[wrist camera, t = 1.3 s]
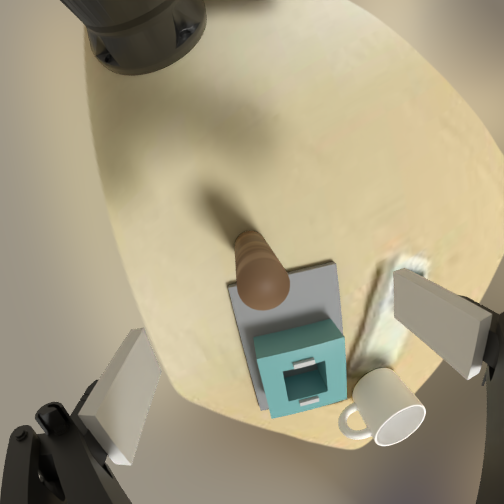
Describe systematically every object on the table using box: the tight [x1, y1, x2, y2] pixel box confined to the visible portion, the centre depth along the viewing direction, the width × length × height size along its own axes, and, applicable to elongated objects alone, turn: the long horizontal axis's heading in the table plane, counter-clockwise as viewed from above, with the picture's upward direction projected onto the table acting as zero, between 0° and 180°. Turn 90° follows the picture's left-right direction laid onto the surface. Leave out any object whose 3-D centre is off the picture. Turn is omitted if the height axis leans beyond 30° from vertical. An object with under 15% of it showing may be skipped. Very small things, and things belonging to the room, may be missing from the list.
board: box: [228, 262, 343, 411], centre depth 35 cm, size 20×13×1 cm, turn 12°
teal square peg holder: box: [253, 319, 347, 419], centre depth 33 cm, size 10×10×6 cm
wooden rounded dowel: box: [235, 231, 290, 311], centre depth 26 cm, size 4×4×14 cm
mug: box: [338, 368, 426, 446], centre depth 34 cm, size 12×8×10 cm
